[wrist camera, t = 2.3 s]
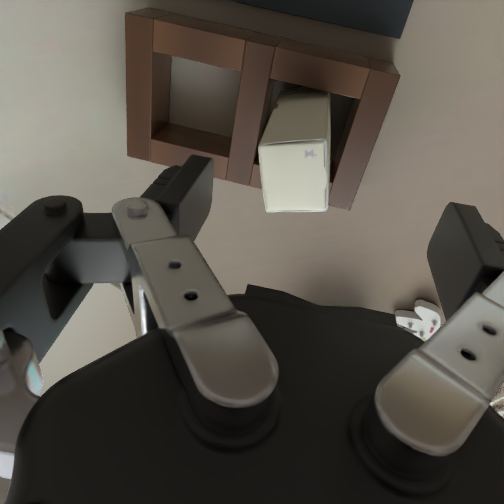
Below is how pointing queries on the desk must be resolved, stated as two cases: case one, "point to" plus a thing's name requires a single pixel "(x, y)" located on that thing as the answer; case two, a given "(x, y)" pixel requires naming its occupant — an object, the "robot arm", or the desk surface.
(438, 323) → the game controller
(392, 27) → the mat
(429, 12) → the desk surface
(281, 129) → the box
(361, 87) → the rack
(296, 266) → the desk surface
